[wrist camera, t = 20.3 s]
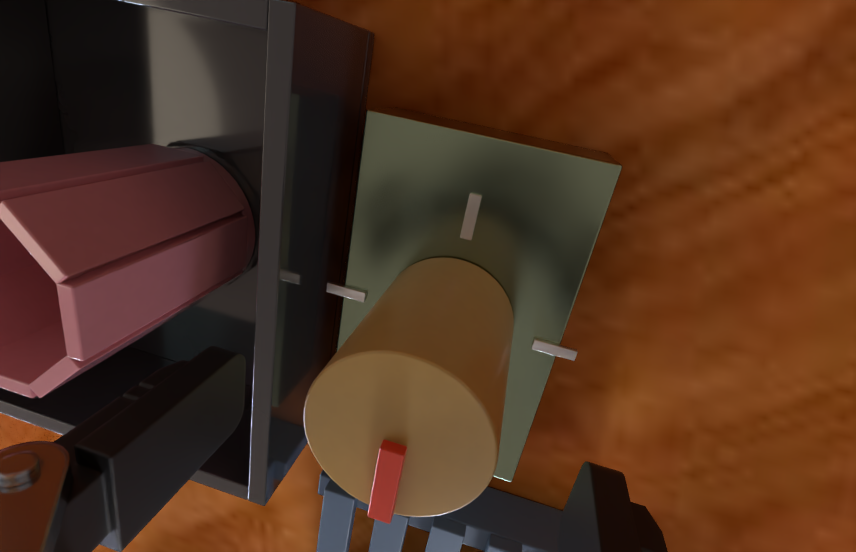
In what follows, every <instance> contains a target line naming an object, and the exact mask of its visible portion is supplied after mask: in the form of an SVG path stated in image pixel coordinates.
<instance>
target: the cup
mask: <svg viewBox="0 0 856 552" xmlns="http://www.w3.org/2000/svg"><path fill="white" fill-rule="evenodd" d="M254 246H255V225H254V219H253V215H252V211H251V208H250V206H249V203H248V201H247V199H246V197H245V195H244V193H243V191H242V189H241V188H240V186H239V185H238V183H237V182H236V181H235V179H234V178H233V177H232V176H231V174H230V173H229V172H228V171H227V170H226V169H225V168H224V167H222V166H221V165H220V164H219V163H217V162H216V161H215V160H213V159H212V158H210V157H208V156H207V155H205V154H203V153H200V152H198V151H196V150H193V149H190V148H185V147H179V146H169V147H165V146H160V145H156V144H146V145H138V146H130V147H122V148H113V149H105V150H97V151H89V152H81V153H72V154H64V155H56V156H48V157H39V158H31V159H23V160H15V161H7V162H0V388H3V389H6V390H9V391H12V392H15V393H18V394H21V395H23V396H26V397H29V398H34V397H36V396H38V397H39V398H42V397H44V396H45V395H47V394H49V393H50V392H52V391H54V390H55V389H57V388H59V387H60V386H62V385H63V384H65V383H67V382H68V381H70V380H72V379H73V378H75V377H77V376H78V375H80V374H82V373H83V372H85V371H87V370H88V369H90V368H92V367H93V366H95V365H97V364H98V363H100V362H102V361H103V360H105V359H107V358H108V357H110V356H112V355H113V354H115V353H117V352H118V351H120V350H122V349H123V348H125V347H127V346H128V345H130V344H131V343H133V342H135V341H136V340H138V339H140V338H141V337H143V336H145V335H146V334H148V333H150V332H151V331H153V330H155V329H156V328H158V327H160V326H161V325H163V324H165V323H166V322H168V321H170V320H171V319H173V318H175V317H176V316H178V315H180V314H181V313H183V312H185V311H186V310H188V309H190V308H191V307H193V306H195V305H196V304H198V303H199V302H201V301H203V300H204V299H206V298H208V297H209V296H211V295H212V294H214V293H215V292H217V291H218V290H220V289H221V288H222V287H224V286H225V285H227V284H228V283H230V282H232V281H233V280H235V279H236V278H237V277H239V276H240V275H241V274H242V273H243V271H244V270H245V269H246V267H247V265H248V264H249V262H250V259H251V257H252V254H253V250H254Z"/></svg>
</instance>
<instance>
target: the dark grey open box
mask: <svg viewBox="0 0 856 552" xmlns="http://www.w3.org/2000/svg"><path fill="white" fill-rule="evenodd" d="M373 43H374V33H373V32H371V31H369V30H366V29H364V28H361V27H358V26H356V25H353V24H351V23H348V22H345V21H343V20H340V19H338V18H335V17H332V16H330V15H327V14H324V13H322V12H319V11H317V10H314V9H311V8H309V7H306V6H304V5H301V4H298V3H296V2H291V1H286V0H0V162H7V161H15V160H23V159H31V158H39V157H48V156H56V155H64V154H72V153H81V152H89V151H97V150H105V149H113V148H122V147H130V146H138V145H146V144H156V145H160V146H165V147H169V146H179V147H185V148H190V149H193V150H196V151H198V152H200V153H203V154H205V155H207V156H208V157H210V158H212V159H213V160H215V161H216V162H217V163H219V164H220V165H221V166H222V167H224V168H225V169H226V170H227V171H228V172H229V173H230V174H231V176H232V177H233V178H234V179H235V181H236V182H237V183H238V185H239V186H240V188H241V189H242V191H243V193H244V195H245V197H246V199H247V201H248V203H249V206H250V208H251V211H252V215H253V219H254V225H255V246H254V250H253V254H252V257H251V259H250V262H249V264H248V265H247V267H246V269H245V270H244V271H243V273H242V274H241V275H240V276H239V277H237V278H236V279H235V280H233V281H232V282H230V283H228V284H227V285H225V286H224V287H222V288H221V289H220V290H218V291H217V292H215V293H214V294H212V295H211V296H209V297H208V298H206V299H204V300H203V301H201V302H199V303H198V304H196V305H195V306H193V307H191V308H190V309H188V310H186V311H185V312H183V313H181V314H180V315H178V316H176V317H175V318H173V319H171V320H170V321H168V322H166V323H165V324H163V325H161V326H160V327H158V328H156V329H155V330H153V331H151V332H150V333H148V334H146V335H145V336H143V337H141V338H140V339H138V340H136V341H135V342H133V343H131V344H130V345H128V346H127V347H125V348H123V349H122V350H120V351H118V352H117V353H115V354H113V355H112V356H110V357H108V358H107V359H105V360H103V361H102V362H100V363H98V364H97V365H95V366H93V367H92V368H90V369H88V370H87V371H85V372H83V373H82V374H80V375H78V376H77V377H75V378H73V379H72V380H70V381H68V382H67V383H65V384H63V385H62V386H60V387H59V388H57V389H55V390H54V391H52V392H50V393H49V394H47V395H45V396H44V397H42V398H39V397H38V396H36V397H34V398H29V397H26V396H23V395H21V394H18V393H15V392H12V391H9V390H6V389H3V388H0V413H2V414H5V415H8V416H11V417H14V418H17V419H19V420H22V421H25V422H28V423H31V424H33V425H36V426H39V427H42V428H45V429H48V430H50V431H53V432H56V433H59V434H62V435H65V434H66V433H67V432H69V431H70V430H72V429H73V428H75V427H76V426H78V425H79V424H80V423H82V422H83V421H85V420H86V419H88V418H89V417H90V416H92V415H93V414H95V413H96V412H98V411H99V410H101V409H102V408H103V407H105V406H106V405H108V404H109V403H111V402H112V401H114V400H115V399H116V398H118V397H122V396H123V394H124V393H125V392H126V391H128V390H129V389H131V388H132V387H134V386H135V385H137V386H138V385H139V383H140V382H141V381H142V380H144V379H145V378H147V377H148V376H150V375H151V374H152V373H154V372H155V371H157V370H158V369H160V368H163V367H165V366H168V365H171V364H173V363H176V362H179V361H181V360H186V361H190V360H191V359H193V358H194V357H195V356H197V355H198V354H200V353H201V352H202V351H204V350H205V349H206V348H208V347H210V346H216V347H219V348H223V349H226V350H229V351H232V352H236V353H239V354H242V355H243V356H244V357H245V360H246V374H245V400H244V411H243V414H242V417H241V420H240V422H239V424H238V426H237V427H236V429H235V430H234V432H233V433H232V434H231V435H230V436H229V437H228V438H227V439H226V440H225V441H224V443H223V444H222V445H221V446H220V447H219V448H218V449H217V450H216V451H215V452H214V453H213V454H212V455H211V456H210V457H209V459H208V460H207V461H206V462H205V463H204V464H203V465H202V466H201V467H200V468H199V469H198V470H197V471H196V472H195V473H194V475H193V476H192V477H191V478H190V479H189V480H192V481H195V482H197V483H200V484H203V485H206V486H209V487H212V488H214V489H217V490H220V491H223V492H226V493H229V494H231V495H234V496H237V497H240V498H243V499H246V500H247V499H248V500H249V501H251V502H254V503H257V504H260V505H262V506H265V505H266V503H267V502H268V500H269V499H270V497H271V496H272V494H273V493H274V491H275V490H276V488H277V487H278V485H279V484H280V482H281V481H282V479H283V478H284V477H285V475H286V474H287V472H288V471H289V469H290V468H291V466H292V465H293V463H294V462H295V460H296V459H297V457H298V456H299V454H300V453H301V451H302V450H303V448H304V447H305V445H306V444H307V442H308V441H307V437H306V434H305V429H304V405H305V399H306V397H307V394H308V391H309V389H310V387H311V385H312V383H313V381H314V380H315V379H316V377H317V376H318V375H319V374H320V372H321V371H322V370H323V369H324V367H325V366H326V365H327V364H328V362H329V361H330V360H331V359H332V357H333V356H334V355H335V349H336V341H337V333H338V325H339V317H340V309H341V301H342V296H340V295H336V294H332V293H329V292H326V290H327V283H328V282H329V281H330V282H334V283H337V284H341V285H344V277H345V269H346V261H347V253H348V245H349V237H350V229H351V220H352V212H353V204H354V196H355V188H356V180H357V172H358V164H359V156H360V148H361V140H362V132H363V124H364V116H365V108H366V100H367V92H368V84H369V75H370V67H371V59H372V51H373Z"/></svg>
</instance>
